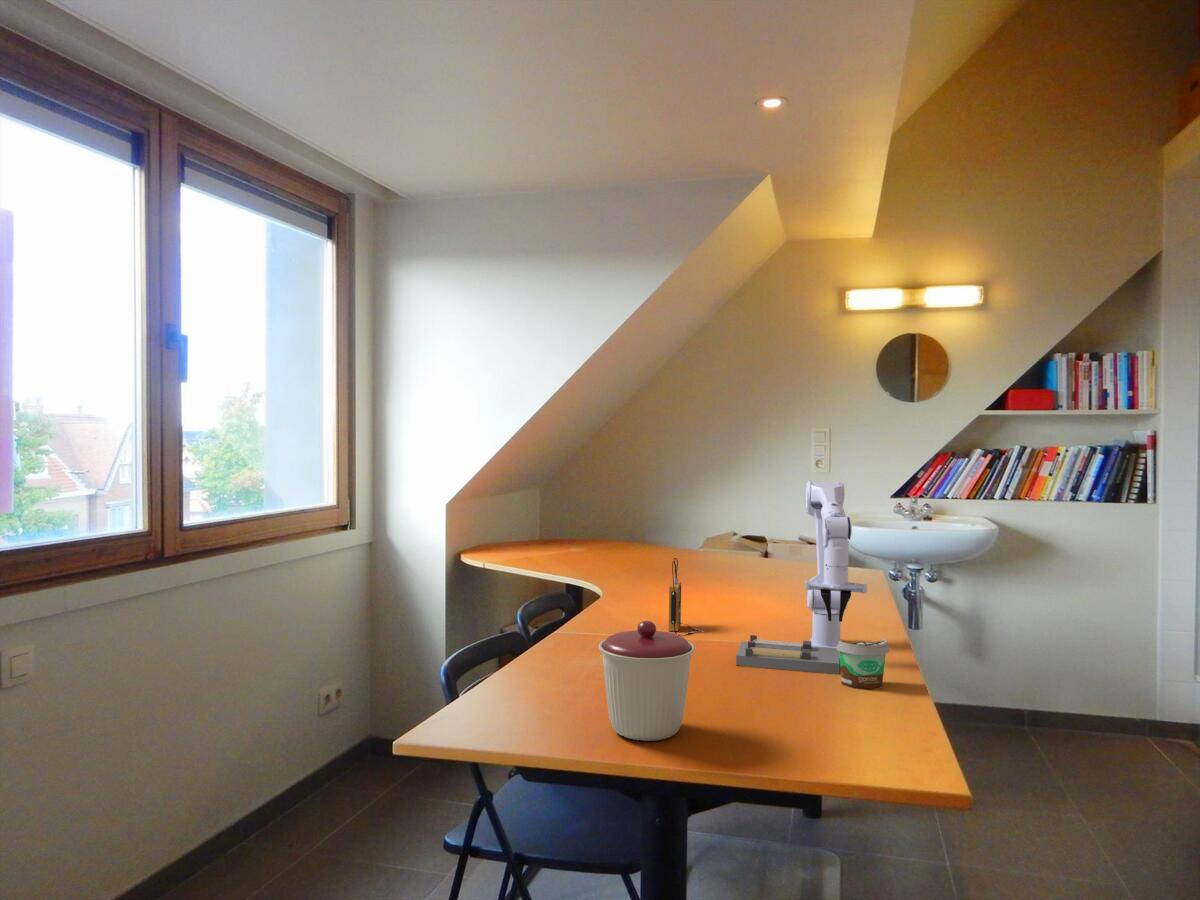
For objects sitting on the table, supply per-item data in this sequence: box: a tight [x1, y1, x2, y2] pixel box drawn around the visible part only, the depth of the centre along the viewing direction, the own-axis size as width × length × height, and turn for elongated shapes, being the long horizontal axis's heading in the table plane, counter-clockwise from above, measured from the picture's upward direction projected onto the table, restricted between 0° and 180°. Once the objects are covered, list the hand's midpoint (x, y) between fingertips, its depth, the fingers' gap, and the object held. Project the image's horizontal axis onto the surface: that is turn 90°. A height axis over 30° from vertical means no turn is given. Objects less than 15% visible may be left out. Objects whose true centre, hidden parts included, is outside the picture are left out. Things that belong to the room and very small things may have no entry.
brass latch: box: [750, 647, 801, 659], centre depth 205 cm, size 12×4×1 cm, turn 75°
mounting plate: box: [735, 634, 840, 675], centre depth 208 cm, size 14×24×4 cm, turn 75°
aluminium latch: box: [753, 638, 803, 650], centre depth 213 cm, size 12×4×1 cm, turn 75°
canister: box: [598, 620, 696, 742], centre depth 160 cm, size 18×18×21 cm
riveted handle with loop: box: [668, 557, 705, 635], centre depth 239 cm, size 15×10×20 cm
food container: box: [836, 637, 890, 691], centre depth 189 cm, size 12×6×10 cm, turn 105°
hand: (835, 620), depth 208 cm, fingers closed
